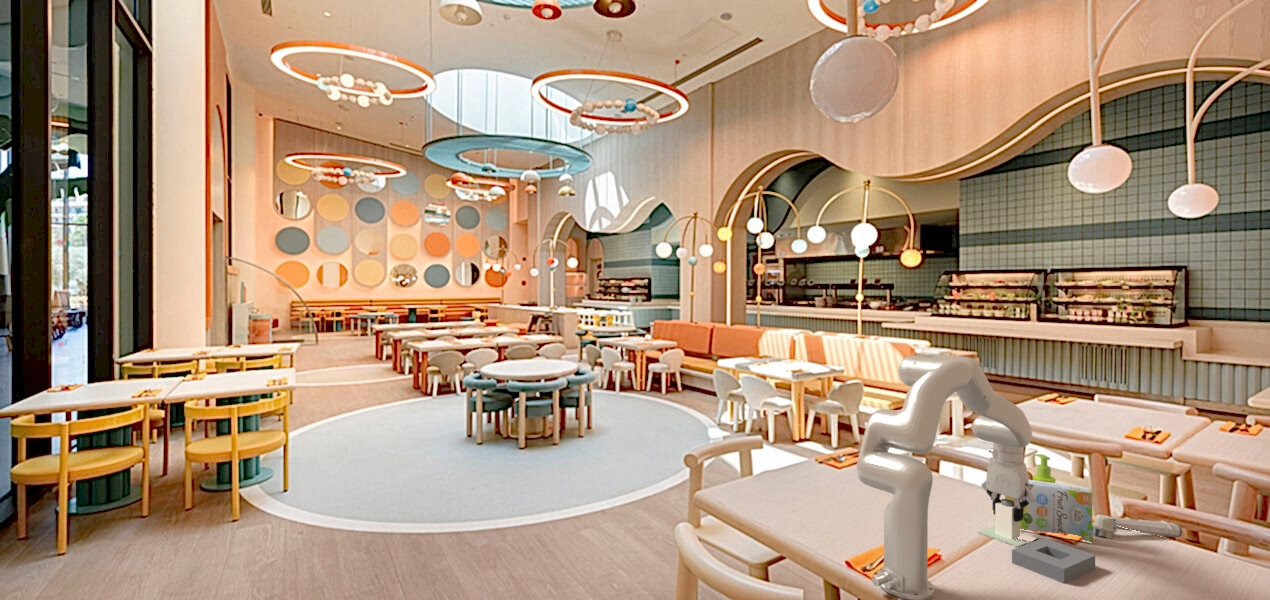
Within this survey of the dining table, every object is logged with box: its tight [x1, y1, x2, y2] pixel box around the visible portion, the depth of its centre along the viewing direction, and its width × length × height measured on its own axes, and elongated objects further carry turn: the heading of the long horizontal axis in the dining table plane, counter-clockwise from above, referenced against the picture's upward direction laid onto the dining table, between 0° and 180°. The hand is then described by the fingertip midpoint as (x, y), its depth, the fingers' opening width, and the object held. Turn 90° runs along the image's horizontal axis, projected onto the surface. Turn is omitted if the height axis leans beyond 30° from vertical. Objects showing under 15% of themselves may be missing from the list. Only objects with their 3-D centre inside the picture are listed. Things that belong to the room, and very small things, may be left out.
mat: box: [977, 525, 1030, 547], centre depth 164 cm, size 11×11×1 cm
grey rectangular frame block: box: [1011, 537, 1096, 584], centre depth 146 cm, size 16×12×4 cm
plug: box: [994, 498, 1021, 539], centre depth 164 cm, size 5×5×10 cm
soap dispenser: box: [1032, 453, 1056, 483], centre depth 179 cm, size 6×7×20 cm
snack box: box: [1003, 479, 1093, 543], centre depth 167 cm, size 21×6×15 cm, turn 58°
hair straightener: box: [1092, 514, 1183, 539], centre depth 165 cm, size 5×7×25 cm
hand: (1007, 516), depth 164 cm, fingers open, 5 cm apart
